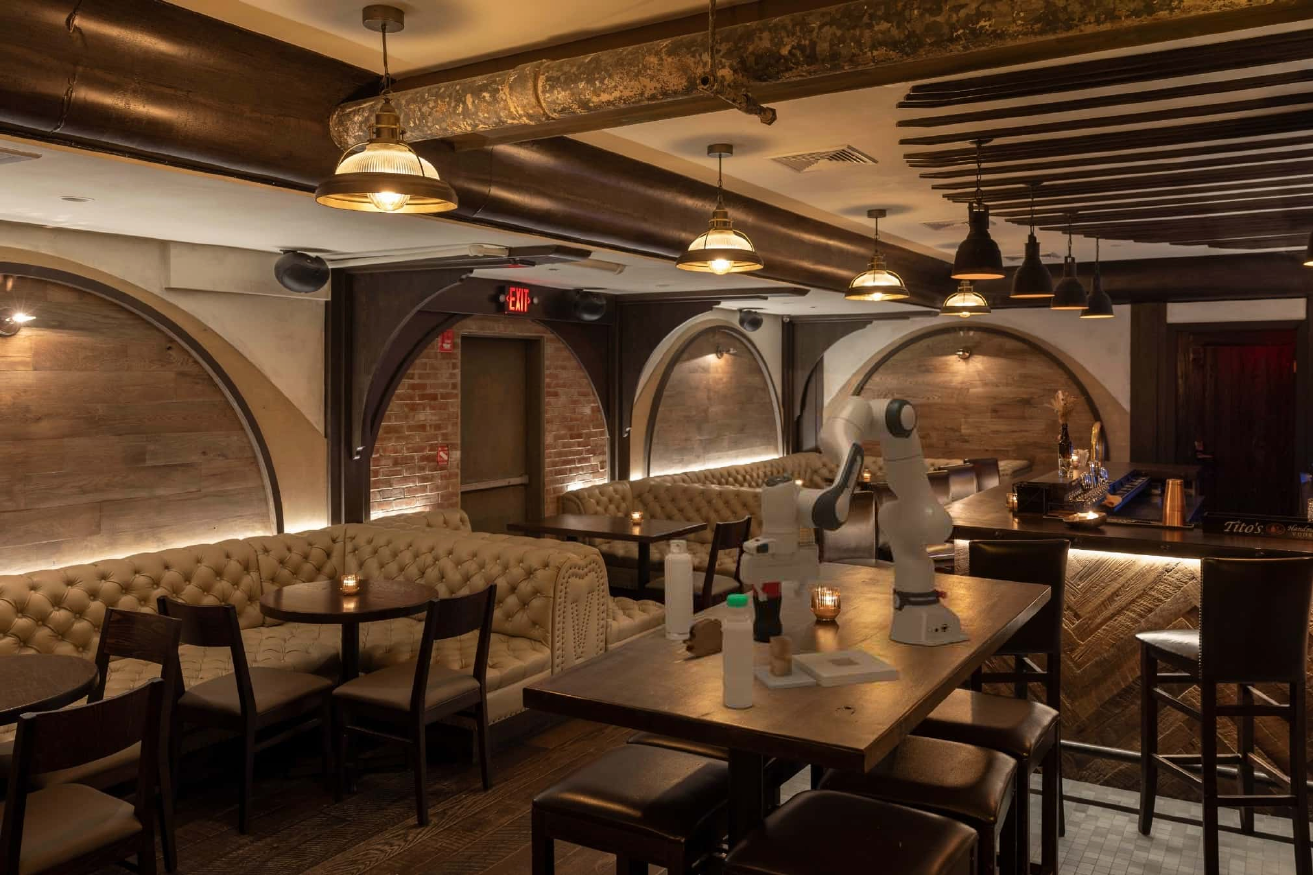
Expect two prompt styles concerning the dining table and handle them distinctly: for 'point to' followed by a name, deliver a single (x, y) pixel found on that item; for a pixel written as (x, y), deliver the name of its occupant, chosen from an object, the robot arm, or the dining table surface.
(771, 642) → the oak block
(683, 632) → the bottle
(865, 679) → the beige board with hole
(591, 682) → the dining table surface
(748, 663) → the water bottle
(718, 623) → the wooden carving
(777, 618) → the cola bottle
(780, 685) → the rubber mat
